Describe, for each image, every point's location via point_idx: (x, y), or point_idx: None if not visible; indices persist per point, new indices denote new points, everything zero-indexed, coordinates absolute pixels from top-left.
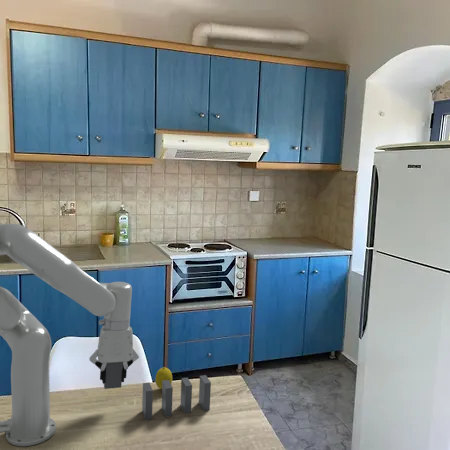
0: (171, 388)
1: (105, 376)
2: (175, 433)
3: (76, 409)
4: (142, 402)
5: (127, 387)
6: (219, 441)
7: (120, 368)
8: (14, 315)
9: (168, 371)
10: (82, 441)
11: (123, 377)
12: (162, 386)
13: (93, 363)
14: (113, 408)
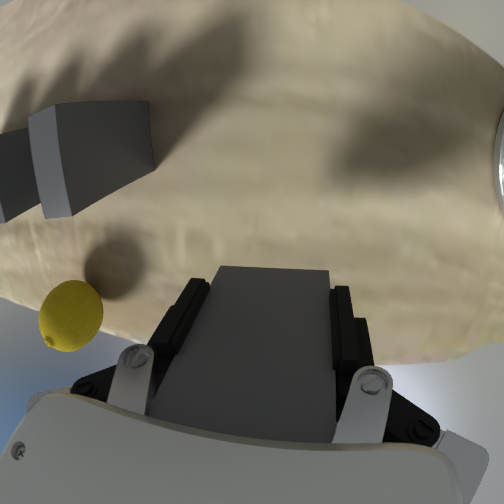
0: None
1: (335, 324)
2: (72, 23)
3: (415, 253)
4: (135, 179)
5: None
6: (7, 14)
7: (189, 368)
8: None
9: (39, 322)
10: (415, 27)
11: (184, 298)
12: (23, 206)
13: (452, 432)
14: (274, 219)
